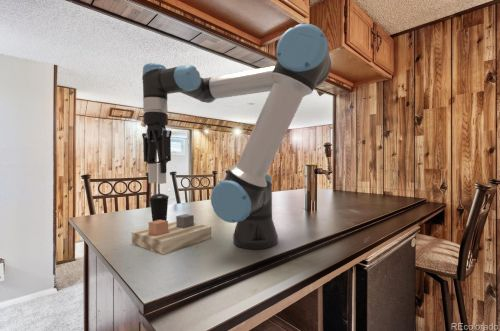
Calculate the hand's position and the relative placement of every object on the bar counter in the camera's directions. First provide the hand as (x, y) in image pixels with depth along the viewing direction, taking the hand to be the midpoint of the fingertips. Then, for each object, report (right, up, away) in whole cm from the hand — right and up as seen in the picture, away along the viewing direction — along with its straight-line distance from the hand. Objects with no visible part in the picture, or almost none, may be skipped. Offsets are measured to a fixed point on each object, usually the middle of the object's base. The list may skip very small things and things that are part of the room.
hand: (157, 183), depth 83 cm
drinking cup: (-6, -21, +20) cm, 29 cm away
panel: (+4, -21, +5) cm, 21 cm away
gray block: (+7, -18, +9) cm, 21 cm away
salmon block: (0, -18, 0) cm, 18 cm away
